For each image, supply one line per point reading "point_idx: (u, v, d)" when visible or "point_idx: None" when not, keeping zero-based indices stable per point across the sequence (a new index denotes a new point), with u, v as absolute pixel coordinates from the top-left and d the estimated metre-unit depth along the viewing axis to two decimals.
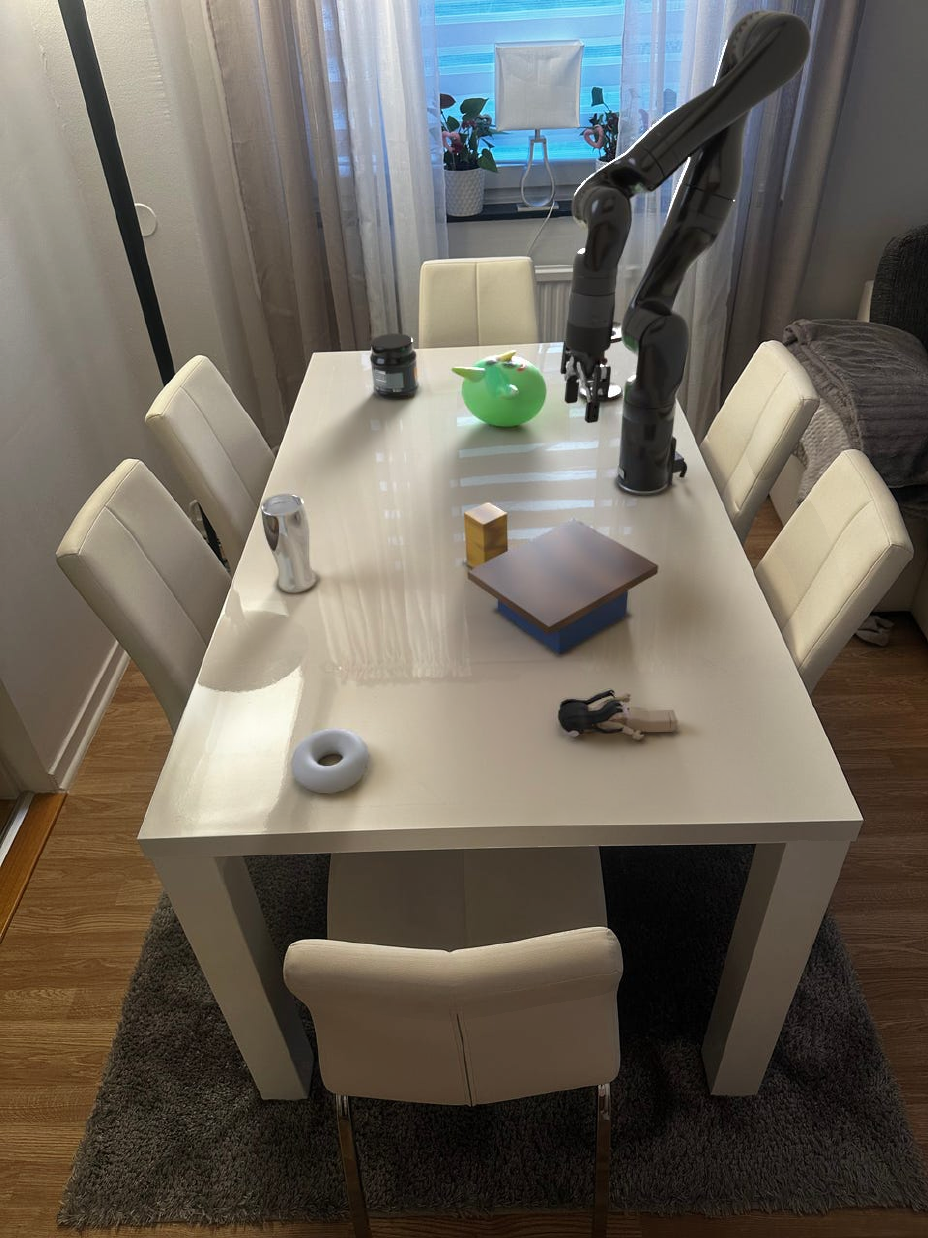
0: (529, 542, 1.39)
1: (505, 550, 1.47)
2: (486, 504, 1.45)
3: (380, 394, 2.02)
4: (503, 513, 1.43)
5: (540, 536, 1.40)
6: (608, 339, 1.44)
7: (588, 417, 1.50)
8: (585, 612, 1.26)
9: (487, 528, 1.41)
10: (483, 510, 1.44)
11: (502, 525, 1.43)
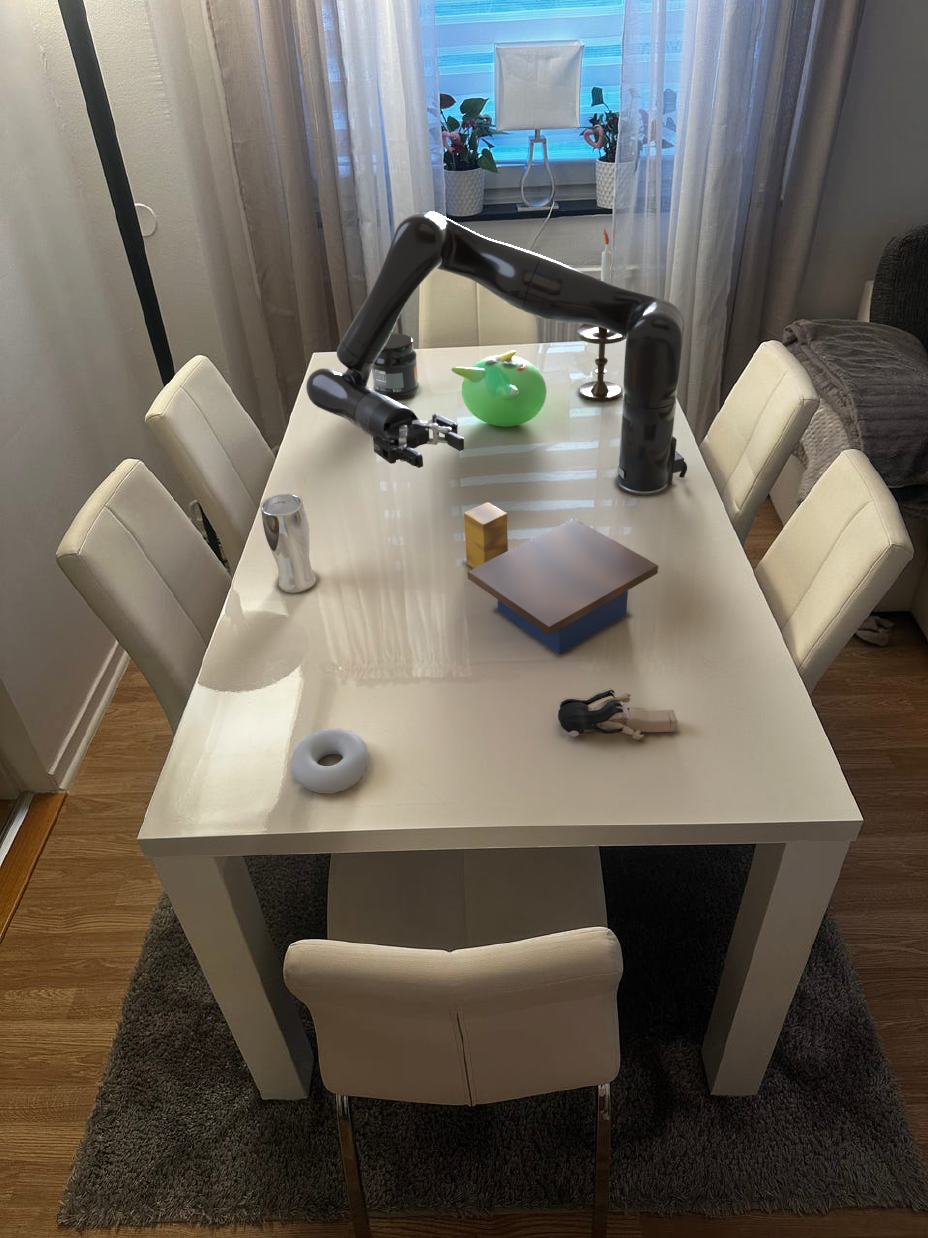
0: (529, 542, 1.39)
1: (505, 550, 1.47)
2: (486, 504, 1.45)
3: None
4: (503, 513, 1.43)
5: (540, 536, 1.40)
6: (378, 420, 1.52)
7: None
8: (585, 612, 1.26)
9: (487, 528, 1.41)
10: (483, 510, 1.44)
11: (502, 525, 1.43)
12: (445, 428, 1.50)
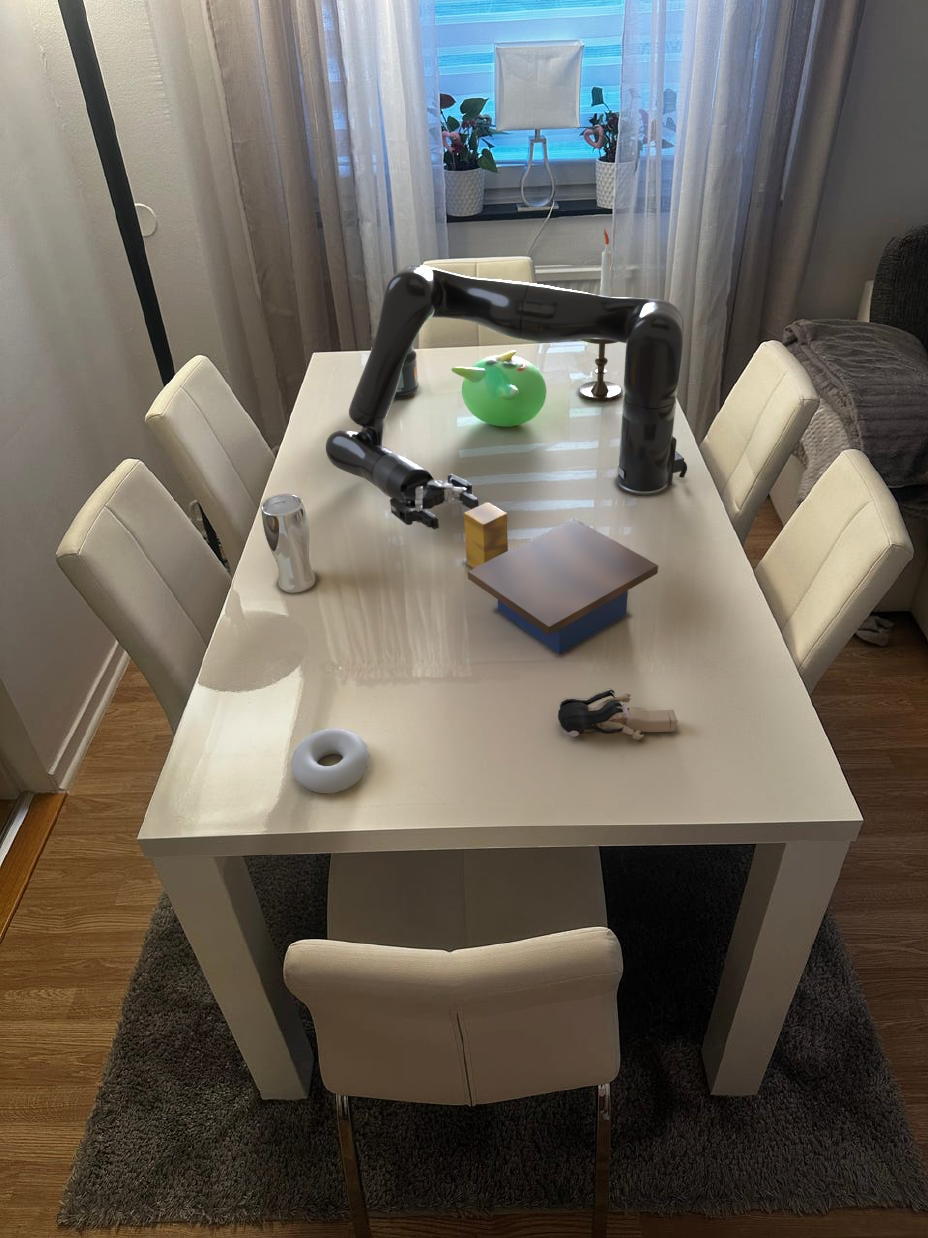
0: (529, 542, 1.39)
1: (505, 550, 1.47)
2: (486, 504, 1.45)
3: None
4: (503, 513, 1.43)
5: (540, 536, 1.40)
6: (394, 481, 1.56)
7: (431, 526, 1.50)
8: (585, 612, 1.26)
9: (487, 528, 1.41)
10: (483, 510, 1.44)
11: (502, 525, 1.43)
12: (460, 489, 1.55)
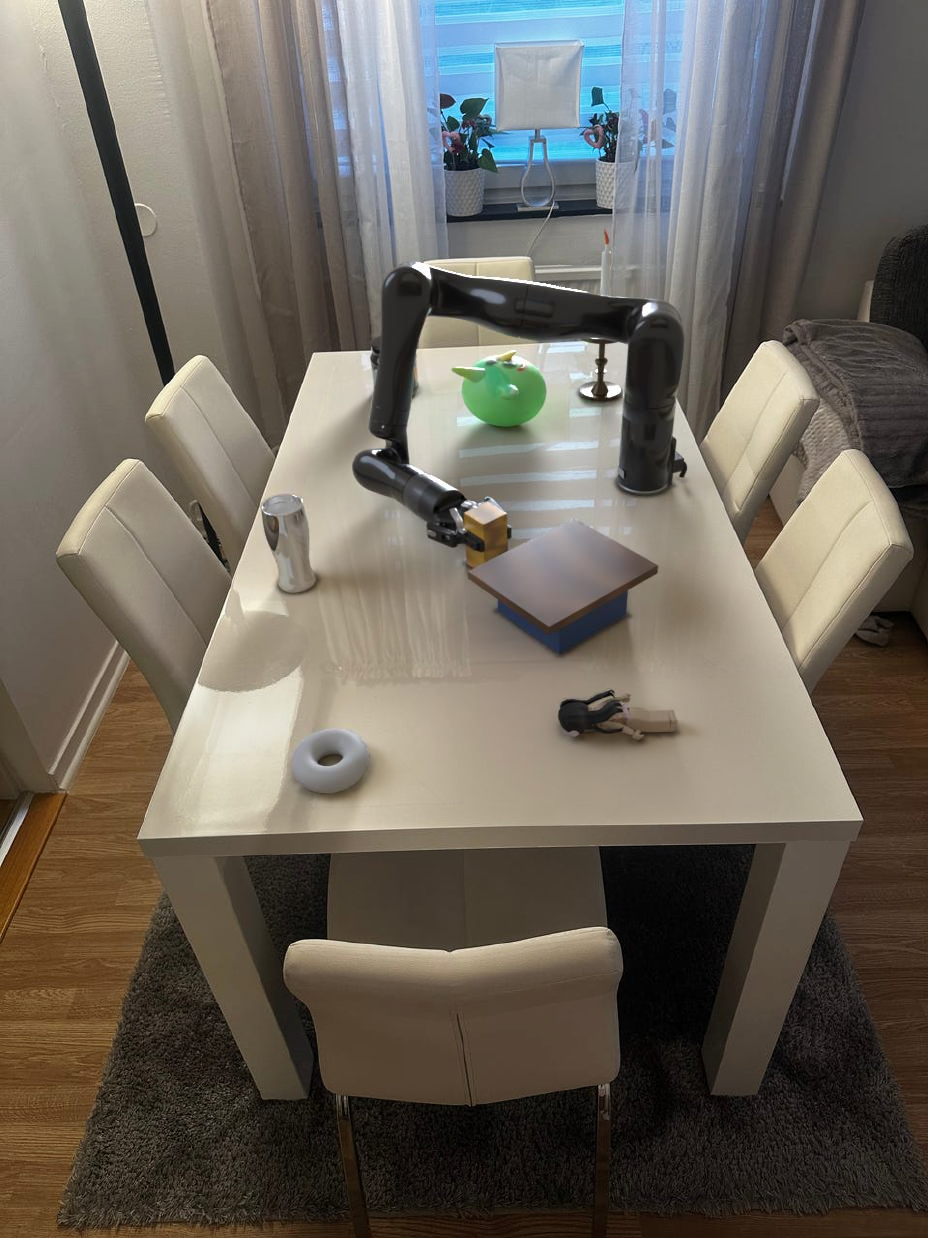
0: (529, 542, 1.39)
1: (505, 550, 1.47)
2: (486, 504, 1.45)
3: None
4: (503, 513, 1.43)
5: (540, 536, 1.40)
6: (427, 503, 1.50)
7: (477, 549, 1.44)
8: (585, 612, 1.26)
9: (487, 528, 1.41)
10: (483, 510, 1.44)
11: (502, 525, 1.43)
12: None
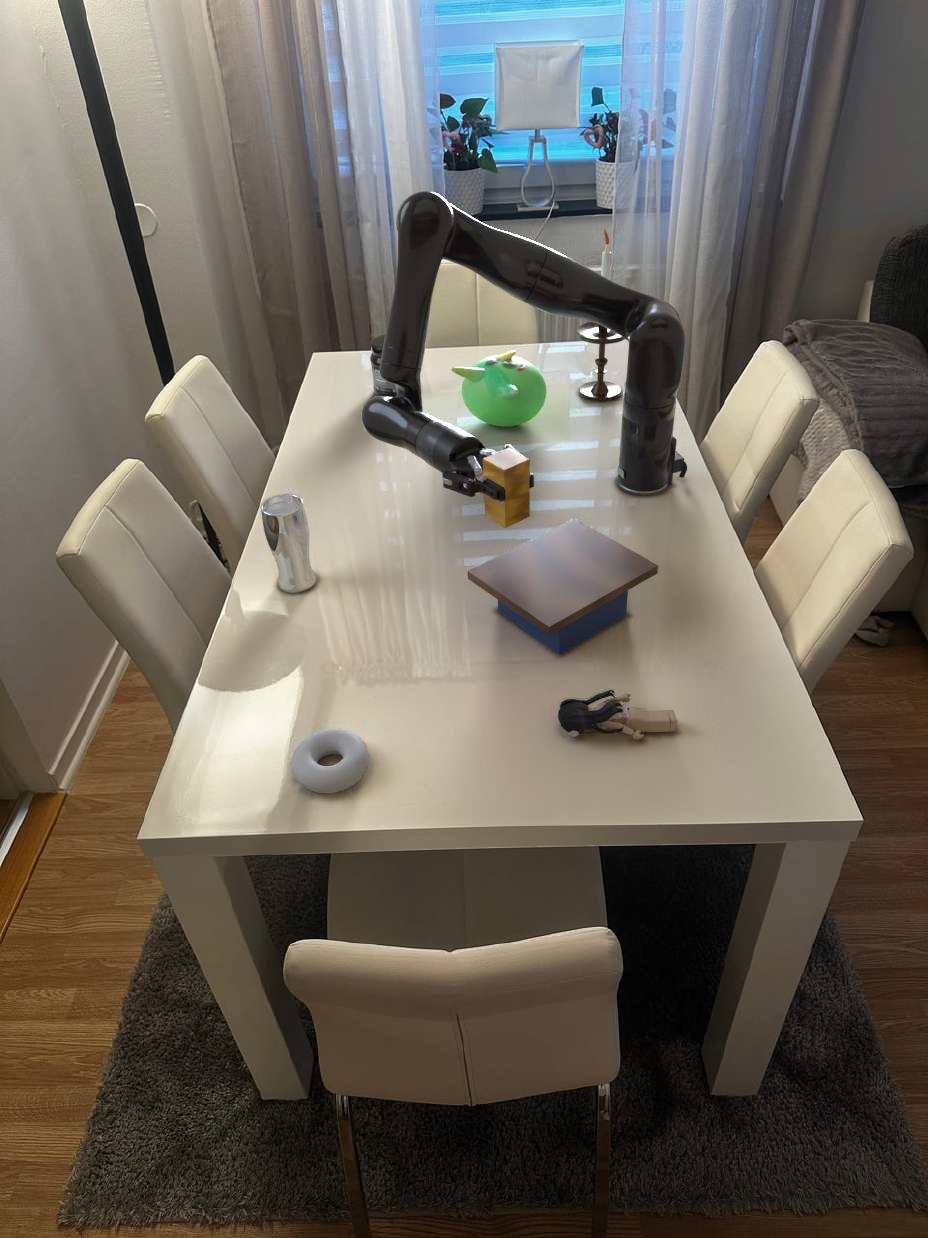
0: (529, 542, 1.39)
1: (527, 500, 1.36)
2: (506, 449, 1.34)
3: (380, 394, 2.02)
4: (525, 459, 1.32)
5: (540, 536, 1.40)
6: (442, 450, 1.40)
7: None
8: (585, 612, 1.26)
9: (508, 474, 1.31)
10: (504, 455, 1.33)
11: (524, 472, 1.33)
12: None
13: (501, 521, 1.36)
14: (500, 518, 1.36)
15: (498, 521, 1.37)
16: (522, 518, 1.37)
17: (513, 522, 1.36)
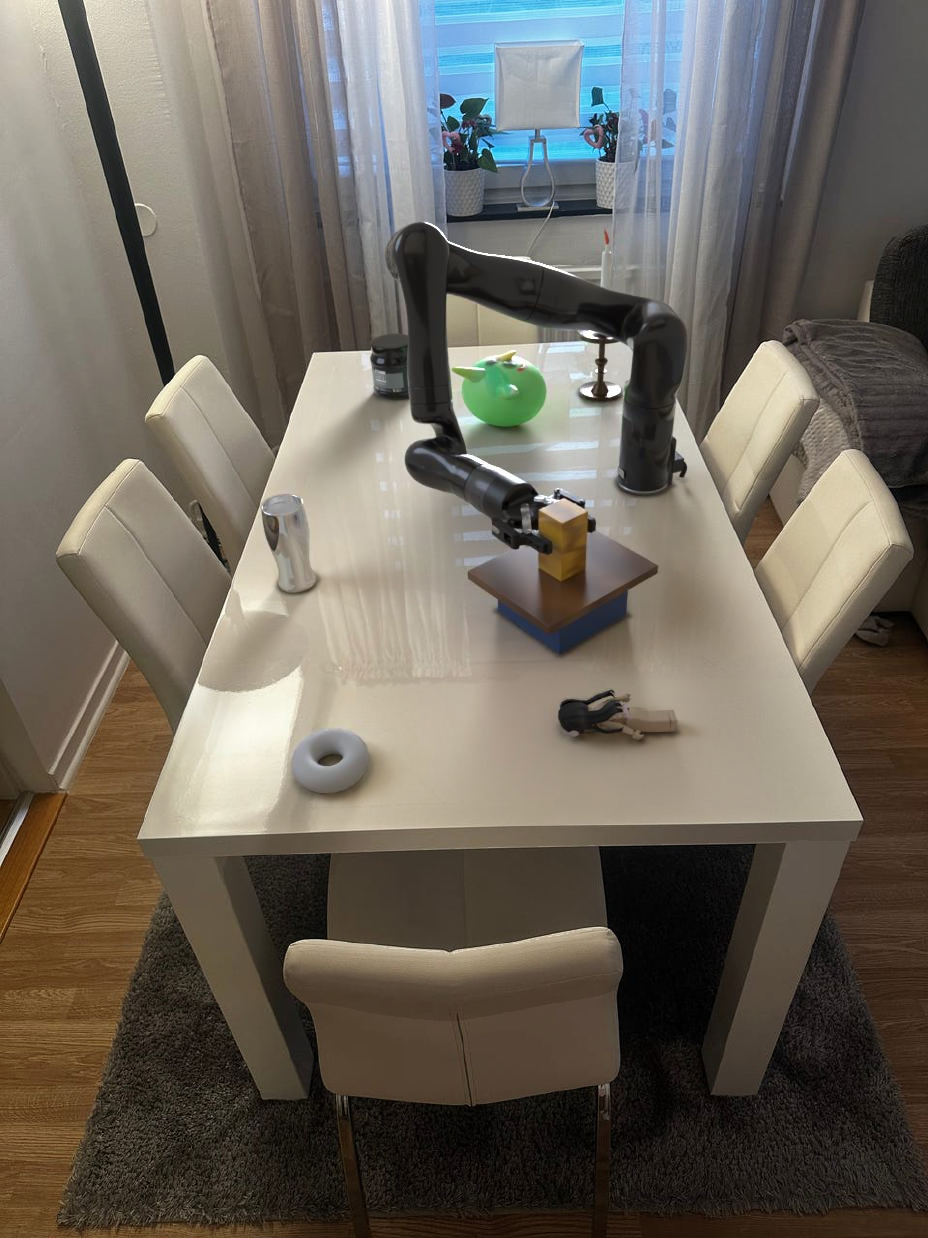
0: None
1: (583, 552, 1.30)
2: (562, 500, 1.29)
3: (380, 394, 2.02)
4: (584, 511, 1.26)
5: None
6: (494, 497, 1.34)
7: None
8: (585, 612, 1.26)
9: (566, 527, 1.25)
10: (561, 507, 1.27)
11: (582, 524, 1.27)
12: None
13: (556, 574, 1.30)
14: (555, 571, 1.30)
15: (553, 574, 1.31)
16: (578, 571, 1.31)
17: (569, 575, 1.30)
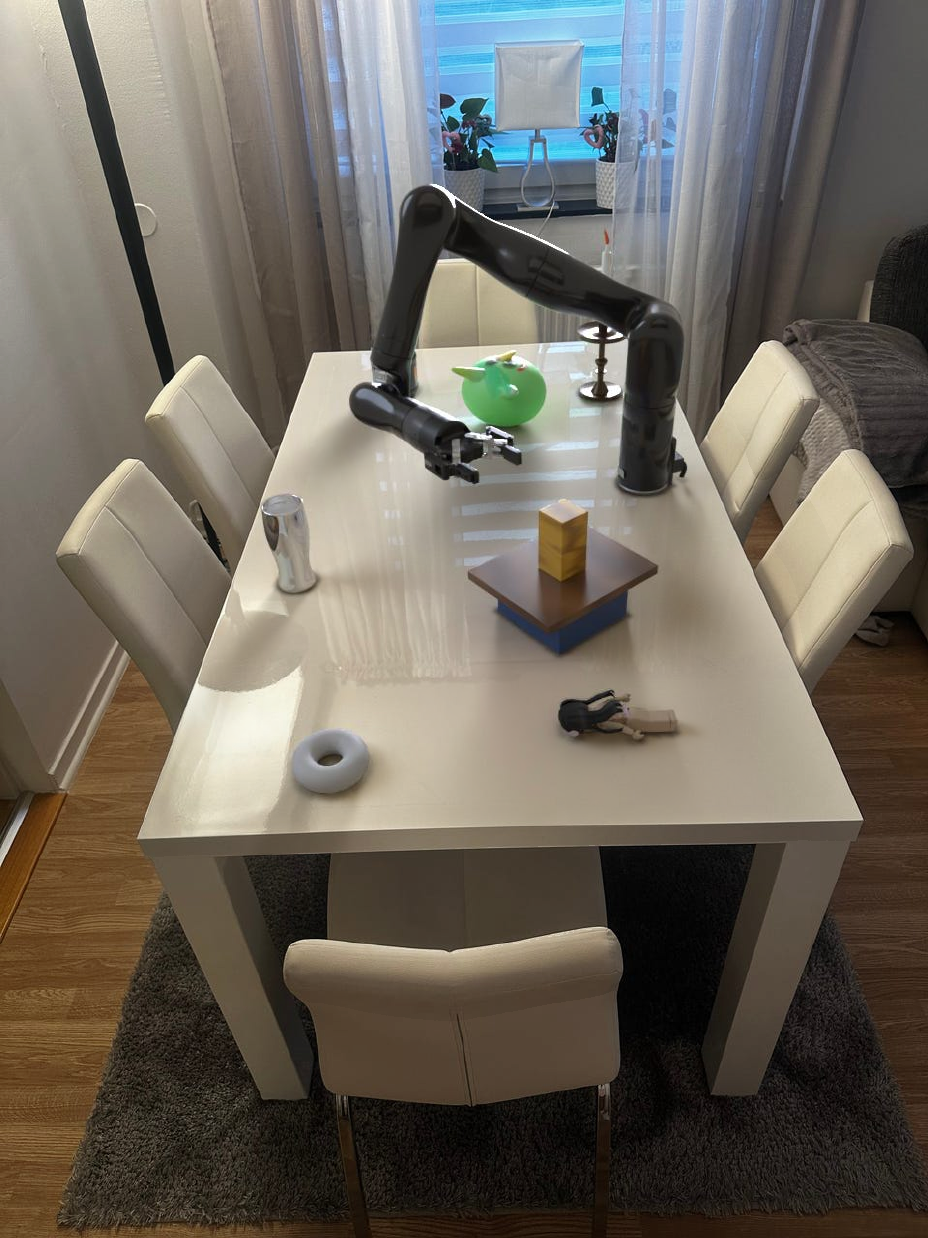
0: (529, 542, 1.39)
1: (583, 552, 1.30)
2: (562, 500, 1.29)
3: None
4: (584, 511, 1.26)
5: None
6: (428, 434, 1.42)
7: None
8: (585, 612, 1.26)
9: (566, 527, 1.25)
10: (561, 507, 1.27)
11: (582, 524, 1.27)
12: (501, 441, 1.40)
13: (556, 574, 1.30)
14: (555, 571, 1.30)
15: (553, 574, 1.31)
16: (578, 571, 1.31)
17: (569, 575, 1.30)
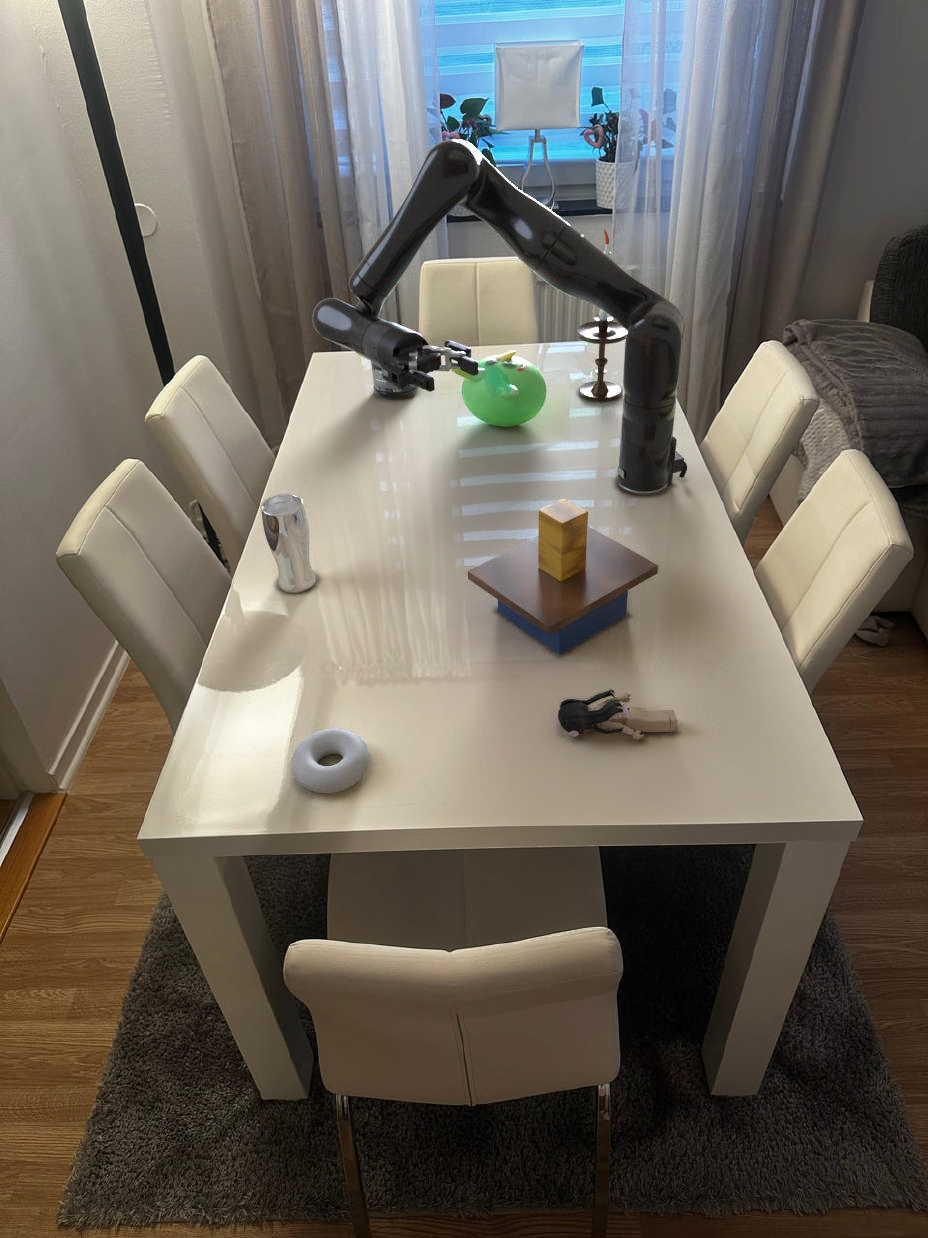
0: (529, 542, 1.39)
1: (583, 552, 1.30)
2: (562, 500, 1.29)
3: (380, 394, 2.02)
4: (584, 511, 1.26)
5: None
6: (386, 346, 1.43)
7: (427, 388, 1.36)
8: (585, 612, 1.26)
9: (566, 527, 1.25)
10: (561, 507, 1.27)
11: (582, 524, 1.27)
12: (458, 352, 1.41)
13: (556, 574, 1.30)
14: (555, 571, 1.30)
15: (553, 574, 1.31)
16: (578, 571, 1.31)
17: (569, 575, 1.30)
